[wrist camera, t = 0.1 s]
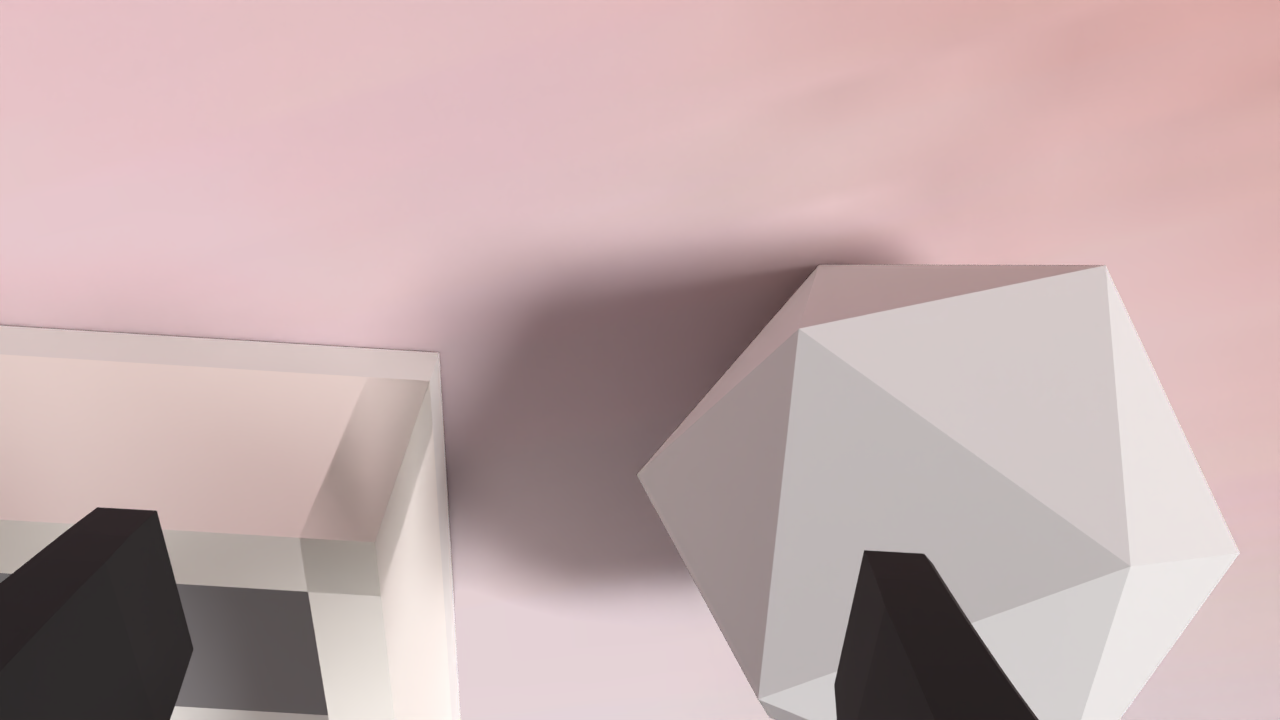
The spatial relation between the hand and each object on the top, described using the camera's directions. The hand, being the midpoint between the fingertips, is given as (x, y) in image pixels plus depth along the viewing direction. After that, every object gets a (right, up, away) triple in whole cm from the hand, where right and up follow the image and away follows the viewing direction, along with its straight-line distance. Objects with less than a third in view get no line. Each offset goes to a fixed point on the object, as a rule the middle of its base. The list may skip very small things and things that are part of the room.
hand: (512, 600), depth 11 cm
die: (+6, +2, +11) cm, 13 cm away
